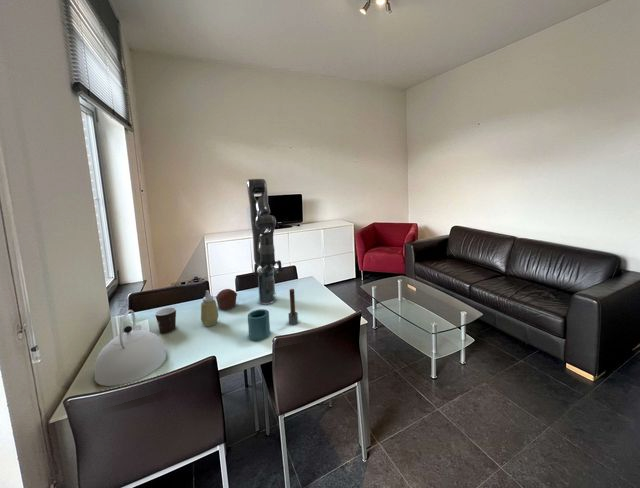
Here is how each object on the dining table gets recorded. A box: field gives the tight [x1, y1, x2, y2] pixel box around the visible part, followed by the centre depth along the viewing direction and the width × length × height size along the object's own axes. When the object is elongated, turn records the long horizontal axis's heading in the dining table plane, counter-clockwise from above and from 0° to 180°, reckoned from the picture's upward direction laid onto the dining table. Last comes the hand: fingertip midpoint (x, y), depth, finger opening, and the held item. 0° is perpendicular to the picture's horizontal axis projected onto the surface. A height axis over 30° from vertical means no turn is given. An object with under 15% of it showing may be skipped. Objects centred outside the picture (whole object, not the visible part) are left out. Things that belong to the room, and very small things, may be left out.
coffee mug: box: [154, 306, 177, 335], centre depth 147 cm, size 12×9×10 cm
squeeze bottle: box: [200, 289, 219, 327], centre depth 153 cm, size 8×8×18 cm
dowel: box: [288, 288, 299, 326], centre depth 153 cm, size 5×5×18 cm
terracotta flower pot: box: [215, 288, 238, 311], centre depth 173 cm, size 12×11×10 cm
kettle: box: [94, 309, 167, 387], centre depth 121 cm, size 25×23×22 cm
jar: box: [247, 308, 271, 342], centre depth 142 cm, size 9×9×11 cm
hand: (268, 280), depth 165 cm, fingers open, 8 cm apart
